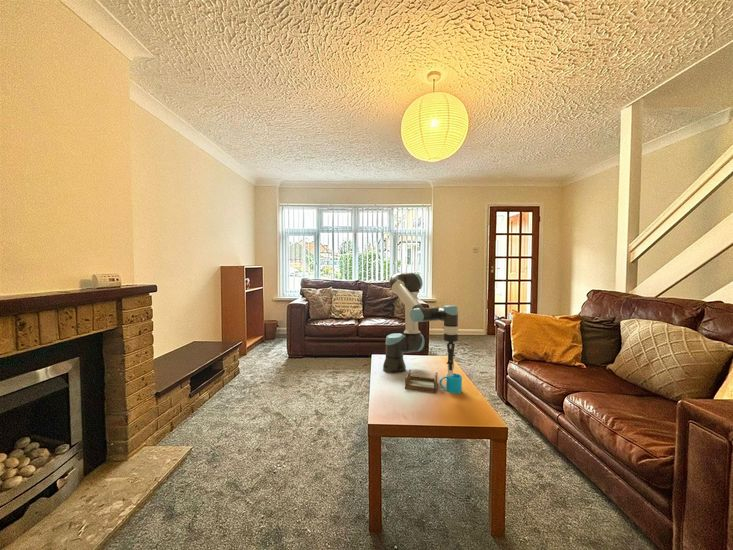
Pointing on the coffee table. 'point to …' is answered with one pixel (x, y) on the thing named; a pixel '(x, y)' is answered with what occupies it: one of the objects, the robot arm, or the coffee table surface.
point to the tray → (420, 383)
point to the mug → (453, 383)
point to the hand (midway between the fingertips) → (451, 371)
